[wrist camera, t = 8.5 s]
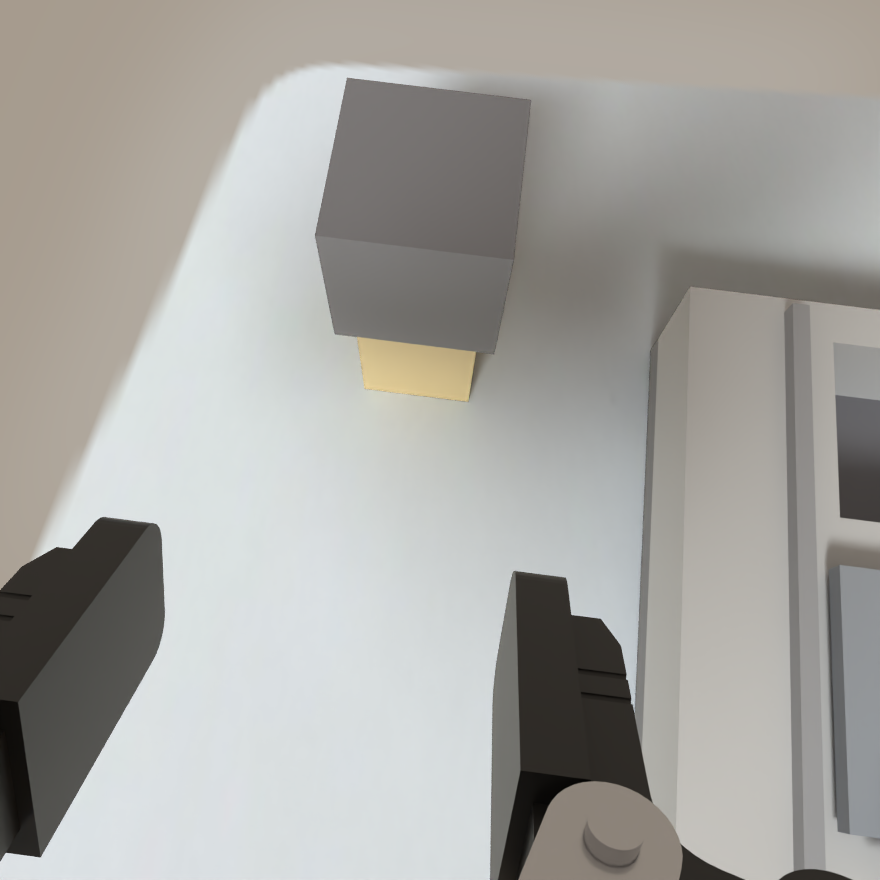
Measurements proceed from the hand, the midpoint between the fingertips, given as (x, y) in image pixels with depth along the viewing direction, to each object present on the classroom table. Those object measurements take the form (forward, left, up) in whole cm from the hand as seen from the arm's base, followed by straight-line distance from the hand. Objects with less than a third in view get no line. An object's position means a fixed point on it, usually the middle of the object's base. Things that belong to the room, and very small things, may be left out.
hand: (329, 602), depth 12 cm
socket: (-15, -4, -15) cm, 21 cm away
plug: (0, -11, -15) cm, 18 cm away
